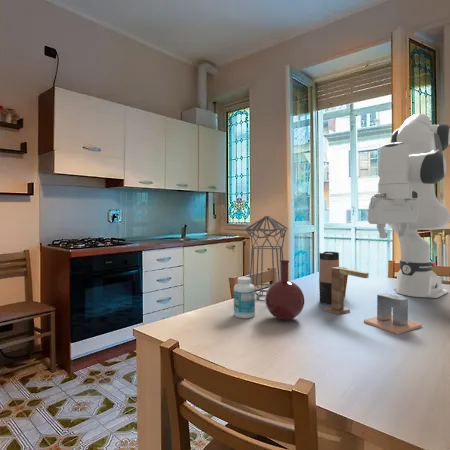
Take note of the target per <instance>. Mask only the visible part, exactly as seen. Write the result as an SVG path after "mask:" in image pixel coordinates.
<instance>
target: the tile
mask: <svg viewBox="0 0 450 450" xmlns="http://www.w3.org/2000/svg"><path fill="white" fill-rule="evenodd" d="M363 323H365V324H367V325H370V326H373V327H376V328H379V329H382V330H385V331H386V332H387V331H388V332H390V333H394V334H397V335H400V334H402V333H406V332H409V331H412V330H416V329H420V328H422V327H423V324H422V323H418V322H415V321H411V320H409V319H408V325H405V326H401V327H399V326H396V325H393V315H392V319H391V320H388V321H384V322H383V321H380V320H377V316H373V317H371V318H367V319H364V320H363Z"/></svg>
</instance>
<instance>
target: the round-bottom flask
mask: <svg viewBox="0 0 450 450" xmlns="http://www.w3.org/2000/svg"><path fill="white" fill-rule="evenodd" d="M280 263H281V277H280V281H276V282H275V281H274V282H275V283H274V284H273V283H272V285H271V286H269V287H268V288H267V292H265V295H266V296H264V297H265V298H264V300H265V301H264V302H265V306H266V309H267V310H268V312H269V313H270V314H271V315H272V316H273V317H275V318H276V319H279V320H283V321H289V320H293V319H296V318H297V317H298V316H299V315H300V314H301V313H302V311H303V309H304V306H305V295H304V293H303V290H302V289H301V288H300V287H299V285H298V284H296V283H295V282H293V281H290V280H289V264H290V260H285V259H283V260H282V259H281V261H280V260H279V264H280Z"/></svg>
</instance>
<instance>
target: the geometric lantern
mask: <svg viewBox="0 0 450 450" xmlns="http://www.w3.org/2000/svg"><path fill="white" fill-rule="evenodd" d="M263 224H264V226H263ZM270 224H271V226H272V228H273V229H271V228H270ZM262 226H263V228H262ZM266 226H267V228H266ZM244 230H245V232H247V234H248V235H249V237H250V242H251V251H250V252H251V253H250V255H251V256H250V271H249V277H250V278H251V282H252V283H251V282H250V283H251V284H253V285H254V287H257V288H258V289H256V288H255V296H256V301H260V302H261V301H262V302H265V299H260V297H266V294H263V293H267V290H268V289H267V290H266V289H263V286H269V287H270V286H271V285H272V284H274V283H275V265H274V264H275V263H274V250H275V253H276V254H275V255H276V267H277V280H278V281H281V263H280V261H282V260H284V251H283V250H284V249H283V248H284V244H285V243H284V242H285V237H286V233H287V231H288V230H289V228H288V227H287V226H286V225H284V224H282V223H281V222H279V221H277V220H276V219H274V218H273V217H271V216H270V215H264V217H262V218H259V220H257V221H256V222H254V223H252V224H251V225H249V226H248V227H246V228H245V229H244ZM255 231H256V233H257V234H255ZM277 231H278V232H277ZM259 232H261V233H263V234H264V236H260V235H259ZM266 232H268V233H266ZM273 233H275V234H274V235H272V234H273ZM279 234H280V236H279V237H278V240H277V239H276V236H278V235H279ZM255 237H256V238H255ZM269 237H272V238H274V240H275V242H276V244H275V245H272V243H271V242H270V240H269ZM264 238H265V239H264ZM281 238H282V244H281V245H280V244H279V242H280V239H281ZM258 239H264V242H263V243H262V245H259V244H258V242H257V240H258ZM253 241H254V244H253ZM267 242H268V244H269V245H265V244H266V243H267ZM255 245H256V246H255ZM255 249H257V254H256V255H257V257H256V277H255ZM260 250H261V255H260V254H259V251H260ZM264 250H271V260H272V261H271V264H272V266H271V267H272V282H273V283H272V284H271V283H270V284H269V283H268V284H267V283H263V272H264V271H263V267H264V266H263V262H264V261H263V259H264V257H263V256H264V255H263V254H264ZM278 250H279V252H278ZM259 255H260V256H261V259H260V260H261V261H260V263H261V264H260V265H261V268H260V270H261V271H260V276H261V277H260V283H258V279H259V278H258V277H259V276H258V275H259ZM279 268H280V269H279ZM254 278H255V279H254ZM254 282H255V283H254ZM259 286H261V289H260V287H259Z"/></svg>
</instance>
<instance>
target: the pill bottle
mask: <svg viewBox="0 0 450 450" xmlns="http://www.w3.org/2000/svg"><path fill="white" fill-rule="evenodd" d="M236 280H237V283H236V284H235V285H234V286H233V315H234V316H235V318H239V319H251V318H253V317H255V316H256V315H255V314H256V294H255V289H256V288H255V287H256V286H255V287H254V285H255V284H254V285H253V284H252V283H250V282H252V277H251V278H250V276H239V277H237V279H236Z"/></svg>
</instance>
